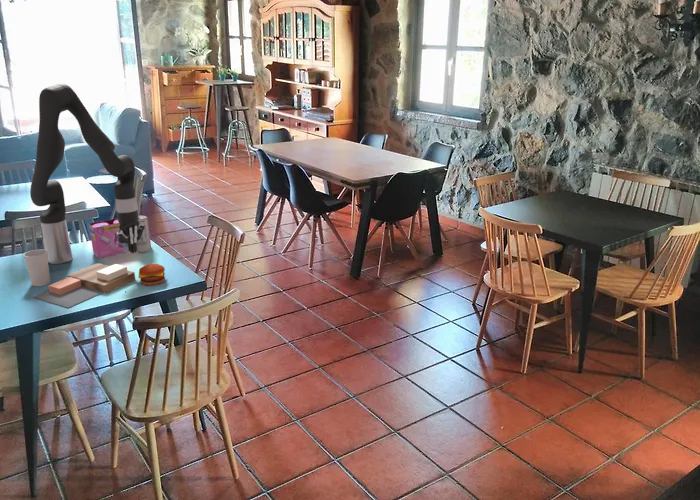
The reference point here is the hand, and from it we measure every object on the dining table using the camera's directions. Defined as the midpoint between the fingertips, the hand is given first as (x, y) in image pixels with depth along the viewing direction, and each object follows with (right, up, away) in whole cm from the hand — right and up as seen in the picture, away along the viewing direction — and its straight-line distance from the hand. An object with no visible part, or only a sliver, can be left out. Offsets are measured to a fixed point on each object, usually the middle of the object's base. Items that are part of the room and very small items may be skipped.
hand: (133, 252), depth 232 cm
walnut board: (-10, -11, -4) cm, 16 cm away
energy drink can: (-5, 0, +26) cm, 27 cm away
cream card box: (-5, -9, -7) cm, 12 cm away
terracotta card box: (-20, -13, -12) cm, 27 cm away
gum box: (-15, +1, +28) cm, 31 cm away
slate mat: (-18, -15, -16) cm, 28 cm away
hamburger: (+9, -11, -4) cm, 15 cm away
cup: (-33, -12, -6) cm, 35 cm away
